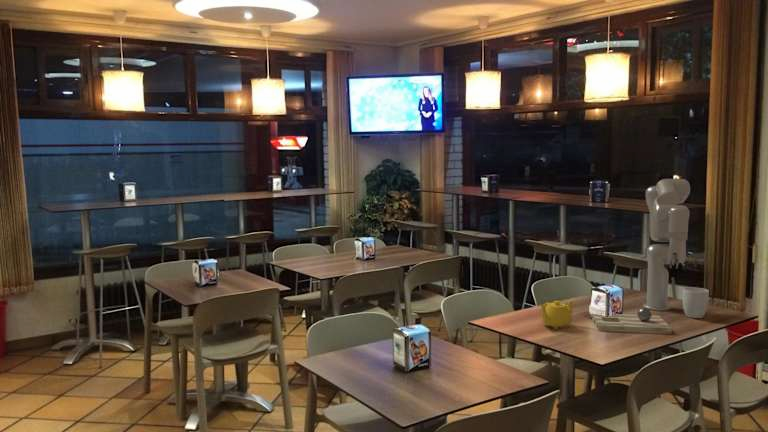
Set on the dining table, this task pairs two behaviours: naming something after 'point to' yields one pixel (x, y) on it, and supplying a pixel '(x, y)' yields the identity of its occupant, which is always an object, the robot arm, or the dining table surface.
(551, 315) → the teapot
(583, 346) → the dining table surface
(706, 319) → the dining table surface
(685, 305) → the mug
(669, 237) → the robot arm
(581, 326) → the dining table surface
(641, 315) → the ball
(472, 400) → the dining table surface
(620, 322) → the runway board
